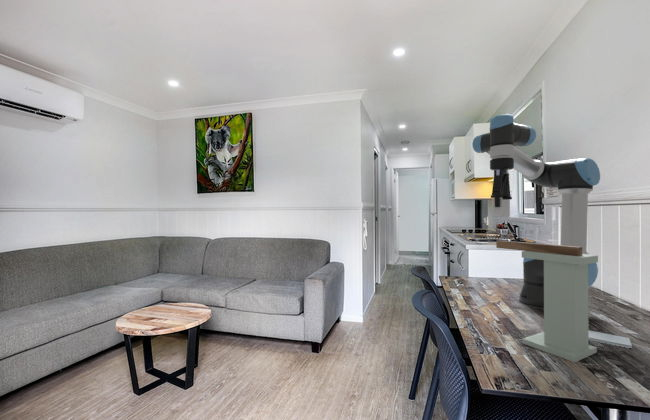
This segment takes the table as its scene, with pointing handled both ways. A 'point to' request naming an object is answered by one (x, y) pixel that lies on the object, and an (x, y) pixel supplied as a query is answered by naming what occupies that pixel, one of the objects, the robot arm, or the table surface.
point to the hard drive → (610, 339)
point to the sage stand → (564, 306)
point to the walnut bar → (540, 247)
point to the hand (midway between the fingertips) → (501, 216)
